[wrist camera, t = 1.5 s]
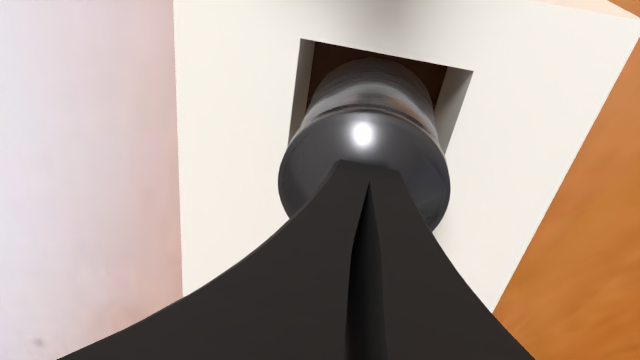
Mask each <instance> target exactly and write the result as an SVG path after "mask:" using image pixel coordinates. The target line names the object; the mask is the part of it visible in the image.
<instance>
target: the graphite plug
mask: <svg viewBox="0 0 640 360" xmlns="http://www.w3.org/2000/svg"><path fill="white" fill-rule="evenodd" d="M340 159H342V160H347V161H352V162H357V163H363V164H368V165H373V166H378V167H383V168H388V169H393V170H398V171H399V172H400V174H401V175H402V177H403V179H404V181H405V183H406V186H407V188H408V190H409V192H410V194H411V196H412V198H413V199H414V201H415V203H416V205H417V207H418V209H419V211H420V213H421V214H422V216H423V218H424V220H425V221H426V223H427V225H428V226H429V228H430V230H431V231H432V232H433V231H434V229H435V228H436V227H437V226H438V225H439V223H440V222H441V220H442V219H443V217H444V214H445V212H446V210H447V207H448V204H449V200H450V192H451V188H450V177H449V172H448V166H447V161H446V158H445V155H444V152H443V150H442V148H441V146H440V144H439V141H438V135H437V129H436V123H435V117H434V111H433V105H432V100H431V98H430V95H429V92H428V90H427V89H426V87H425V85H424V84H423V82H422V81H421V80H420V79H419V78H418V77H417V76H416V75H415V74H414V73H413V72H412V71H410V70H409V69H408V68H406V67H404V66H403V65H401V64H399V63H396V62H394V61H391V60H387V59H382V58H361V59H356V60H352V61H349V62H347V63H344V64H342V65H340V66H338V67H337V68H335V69H334V70H332V71H331V72H330V73H328V74H327V75H326V76H325V77H324V78H323V80H322V81H321V82H320V84H319V85H318V87H317V88H316V90H315V92H314V95H313V97H312V99H311V102H310V104H309V107H308V109H307V112H306V114H305V117H304V119H303V122H302V124H301V127H300V129H299V130H298V131H297V132H296V134H295V135H294V136H293V138H292V139H291V141H290V143H289V145H288V147H287V149H286V151H285V154H284V156H283V159H282V162H281V164H280V168H279V173H278V191H279V196H280V200H281V203H282V206H283V208H284V210H285V212H286V214H287V216H288V217H289V219H290V218H291V217H292V216H293V215H294V214H295V213H296V212H297V211H298V210H299V209H300V208H301V207H302V206H303V204H304V203H305V202H306V201H307V200H308V199H309V198H310V197H311V195H312V194H313V193H314V192H315V191H316V190H317V188H318V187H319V186H320V185H321V183H322V182H323V181H324V179H325V178H326V176H327V175H328V173H329V172H330V170H331V168H332V167H333V164H334V163H335V162H336V161H338V160H340Z"/></svg>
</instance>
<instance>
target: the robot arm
mask: <svg viewBox="0 0 640 360" xmlns="http://www.w3.org/2000/svg"><path fill="white" fill-rule="evenodd" d="M57 360H535V359H534V358H533V357H532V356H531V355H530V354H529V353H528V352H527V351H526V350H525V348H524V347H523V346H522V345H521V344H520V343H519V342H518V341H517V340H516V339H515V338H514V337H513V336H512V335H511V334H510V333H509V332H508V331H507V330H506V329H505V328H504V327H503V326H502V324H501V323H500V322H499V321H498V320H497V319H496V318H495V317H494V316H493V314H492V313H491V312H490V311H489V310H488V308H487V307H486V306H485V305H484V304H483V302H482V301H481V300H480V299H479V298H478V296H477V295H476V294H475V293H474V292H473V290H472V289H471V288H470V287H469V286H468V284H467V283H466V282H465V280H464V279H463V278H462V277H461V275H460V274H459V273H458V271H457V270H456V268H455V267H454V265H453V264H452V263H451V261H450V260H449V258H448V257H447V255H446V254H445V252H444V251H443V249H442V248H441V246H440V245H439V243H438V241H437V240H436V238H435V236H434V235H433V233H432V231H431V230H430V228H429V226H428V225H427V223H426V221H425V220H424V218H423V216H422V214H421V213H420V211H419V209H418V207H417V205H416V203H415V201H414V199H413V198H412V196H411V194H410V192H409V190H408V188H407V186H406V183H405V181H404V179H403V177H402V175H401V174H400V172H399V171H398V170H393V169H388V168H383V167H378V166H373V165H368V164H363V163H357V162H352V161H347V160H342V159H340V160H338V161H336V162H335V163H334V164H333V167H332V168H331V170H330V172H329V173H328V175H327V176H326V178H325V179H324V181H323V182H322V183H321V185H320V186H319V187H318V188H317V190H316V191H315V192H314V193H313V194H312V195H311V197H310V198H309V199H308V200H307V201H306V202H305V203H304V204H303V206H302V207H301V208H300V209H299V210H298V211H297V212H296V213H295V214H294V215H293V216H292V217H291V218H290V219H289V220H288V221H287V222H286V223H285V224H283V225H282V226H281V227H280V228H279V229H278V230H277V231H276V232H275V233H274V234H273V235H272V236H270V237H269V238H268V239H267V240H266V241H265V242H263V243H262V244H261V245H260V246H259V247H257V248H256V249H255V250H253V251H252V252H251V253H250V254H248V255H247V256H246V257H244V258H243V259H242V260H240V261H239V262H238V263H236V264H235V265H233V266H232V267H230V268H229V269H227V270H226V271H225V272H223V273H222V274H220V275H219V276H217V277H216V278H214V279H213V280H211V281H210V282H208V283H207V284H205V285H203V286H202V287H200V288H199V289H197V290H195V291H194V292H192V293H190V294H189V295H187V296H185V297H183V298H181V299H180V300H178V301H176V302H174V303H172V304H171V305H169V306H167V307H165V308H163V309H162V310H160V311H158V312H156V313H154V314H153V315H151V316H149V317H147V318H145V319H143V320H142V321H140V322H138V323H136V324H134V325H132V326H130V327H128V328H126V329H124V330H122V331H119V332H117V333H115V334H113V335H111V336H108V337H106V338H104V339H102V340H99V341H97V342H95V343H93V344H91V345H88V346H86V347H84V348H82V349H80V350H77V351H75V352H73V353H71V354H69V355H66V356H64V357H62V358H60V359H57Z"/></svg>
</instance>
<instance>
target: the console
mask: <svg viewBox="0 0 640 360" xmlns="http://www.w3.org/2000/svg"><path fill="white" fill-rule="evenodd" d="M173 8H174V38H175V68H176V98H177V128H178V158H179V188H180V218H181V248H182V278H183V297H185V296H187V295H189V294H190V293H192V292H194V291H195V290H197V289H199V288H200V287H202V286H203V285H205V284H207V283H208V282H210V281H211V280H213V279H214V278H216V277H217V276H219V275H220V274H222V273H223V272H225V271H226V270H227V269H229V268H230V267H232V266H233V265H235V264H236V263H238V262H239V261H240V260H242V259H243V258H244V257H246V256H247V255H248V254H250V253H251V252H252V251H253V250H255V249H256V248H257V247H259V246H260V245H261V244H262V243H263V242H265V241H266V240H267V239H268V238H269V237H270V236H272V235H273V234H274V233H275V232H276V231H277V230H278V229H279V228H280V227H281V226H282V225H283V224H285V223H286V222H287V221H288V220H289V217H288V216H287V214H286V212H285V210H284V208H283V206H282V203H281V200H280V196H279V191H278V173H279V168H280V164H281V162H282V159H283V156H284V154H285V151H286V149H287V147H288V145H289V143H290V141H291V139H292V138H293V136H294V135H295V134H296V132H297V131H298V130H299V129H300V127H301V124H302V122H303V119H304V117H305V112H306V105H307V98H308V91H309V84H310V76H311V69H312V62H313V55H314V48H315V41H318V42H323V43H329V44H334V45H339V46H344V47H350V48H355V49H360V50H366V51H371V52H376V53H382V54H387V55H392V56H397V57H403V58H408V59H413V60H419V61H424V62H429V63H434V64H440V65H445V66H448V68H447V71H446V74H445V77H444V80H443V84H442V87H441V90H440V93H439V97H438V100H437V103H436V106H435V109H434V117H435V123H436V129H437V135H438V141H439V144H440V146H441V148H442V150H443V152H444V155H445V158H446V161H447V166H448V172H449V177H450V188H451V192H450V200H449V204H448V207H447V210H446V212H445V214H444V217H443V219H442V220H441V222H440V223H439V225H438V226H437V227H436V228H435V229H434V231H433V232H432V233H433V235H434V236H435V238H436V240H437V241H438V243H439V245H440V246H441V248H442V249H443V251H444V252H445V254H446V255H447V257H448V258H449V260H450V261H451V263H452V264H453V265H454V267H455V268H456V270H457V271H458V273H459V274H460V275H461V277H462V278H463V279H464V280H465V282H466V283H467V284H468V286H469V287H470V288H471V289H472V290H473V292H474V293H475V294H476V295H477V296H478V298H479V299H480V300H481V301H482V302H483V304H484V305H485V306H486V307H487V308H488V310H489V311H490V312H491V313H492V312H493V310H494V309H495V307H496V305H497V303H498V301H499V299H500V297H501V295H502V294H503V292H504V290H505V288H506V286H507V284H508V282H509V280H510V279H511V277H512V275H513V273H514V271H515V269H516V267H517V265H518V264H519V262H520V260H521V258H522V256H523V254H524V252H525V250H526V249H527V247H528V245H529V243H530V241H531V239H532V237H533V235H534V234H535V232H536V230H537V228H538V226H539V224H540V222H541V220H542V219H543V217H544V215H545V213H546V211H547V209H548V207H549V205H550V204H551V202H552V200H553V198H554V196H555V194H556V192H557V190H558V189H559V187H560V185H561V183H562V181H563V179H564V177H565V175H566V174H567V172H568V170H569V168H570V166H571V164H572V162H573V160H574V159H575V157H576V155H577V153H578V151H579V149H580V147H581V145H582V144H583V142H584V140H585V138H586V136H587V134H588V132H589V130H590V129H591V127H592V125H593V123H594V121H595V119H596V117H597V115H598V114H599V112H600V110H601V108H602V106H603V104H604V102H605V100H606V99H607V97H608V95H609V93H610V91H611V89H612V87H613V85H614V84H615V82H616V80H617V78H618V76H619V74H620V72H621V70H622V69H623V67H624V65H625V63H626V61H627V59H628V57H629V55H630V54H631V52H632V50H633V48H634V46H635V44H636V42H637V40H638V39H639V37H640V18H639V17H637V16H636V15H634V14H632V13H630V12H628V11H626V10H624V9H622V8H620V7H618V6H617V5H615V4H613V3H611V2H609V1H607V0H173Z"/></svg>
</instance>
